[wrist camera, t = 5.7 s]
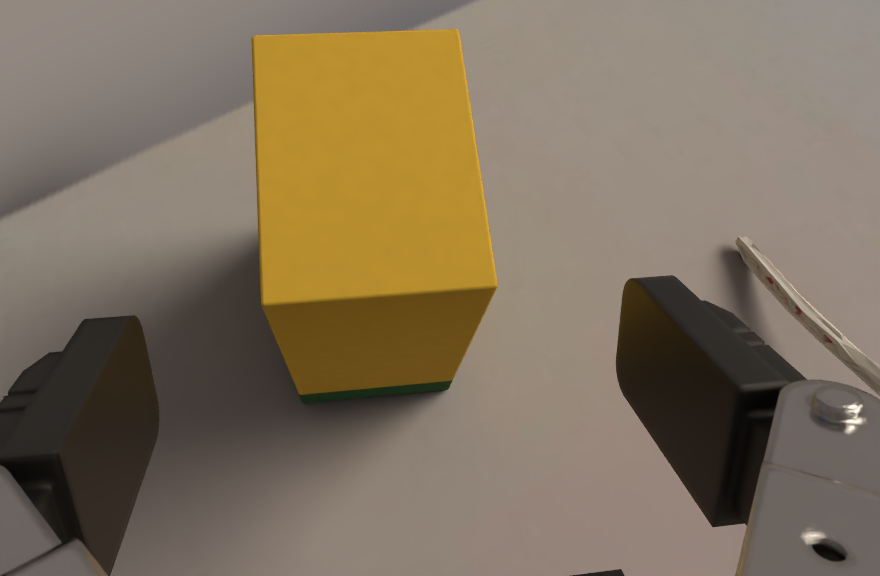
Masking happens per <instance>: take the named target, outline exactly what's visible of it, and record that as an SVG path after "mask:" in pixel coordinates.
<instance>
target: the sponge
mask: <svg viewBox="0 0 880 576" xmlns="http://www.w3.org/2000/svg"><path fill="white" fill-rule="evenodd" d="M252 63H253V91H254V121H255V150H256V178H257V207H258V236H259V265H260V294H261V305H262V308H263V310H264V312H265V315H266V317H267V319H268V322H269V324H270V327H271V329H272V331H273V334H274V336H275V338H276V341H277V343H278V346H279V348H280V350H281V353H282V355H283V357H284V360H285V362H286V365H287V367H288V369H289V372H290V374H291V376H292V379H293V381H294V384H295V386H296V388H297V391H298V393H299V396H300V398H301V400H302V403H313V402H323V401H334V400H344V399H355V398H365V397H376V396H386V395H397V394H407V393H418V392H428V391H439V390H447V389H449V387H450V384H451V382H452V380H453V378H454V376H455V374H456V372H457V370H458V368H459V366H460V363H461V361H462V359H463V357H464V355H465V353H466V351H467V349H468V347H469V345H470V343H471V341H472V339H473V336H474V334H475V332H476V330H477V328H478V326H479V324H480V322H481V320H482V318H483V316H484V314H485V312H486V309H487V307H488V305H489V303H490V301H491V299H492V297H493V295H494V293H495V291H496V289H497V286H498V284H497V278H496V271H495V264H494V258H493V251H492V245H491V238H490V231H489V225H488V218H487V212H486V205H485V199H484V192H483V185H482V179H481V172H480V166H479V159H478V152H477V146H476V139H475V133H474V126H473V119H472V113H471V106H470V100H469V93H468V86H467V80H466V73H465V67H464V60H463V54H462V47H461V40H460V34H459V31H458V30H457V29H448V30H416V31H388V32H387V31H385V32H353V33H321V34H289V35H258V36H253V37H252Z"/></svg>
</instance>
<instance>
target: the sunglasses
mask: <svg viewBox="0 0 880 576" xmlns="http://www.w3.org/2000/svg"><path fill="white" fill-rule="evenodd" d="M736 245H737V247H738V249H739V252H740V254H741V257H742V259H743V261H744V263H745V264H746V265H747V266H748V267H749V268H750V269H751V271H752V272H753V273H754V274H755V275H756V276H757V277H758V278H759V279H760V281H761V282H762V283H763V284H764V285H765V286H766V287H767V288H768V290H769V291H770V292H771V293H772V294H773V295H774V296H775V297H776V299H777V300H778V301H779V302H780V303H781V304H782V305H783V306H784V308H785V309H786V310H787V311H788V312H789V313H790V314H791V315H792V316H793V317H794V318H795V319H796V320H798V321H799V322H800V323H801V324H802V325H803V326H804V327H805V328H806V329H807V330H808V331H809V332H810V333H811V334H812V335H813V336H814V337H815V338H816V339H817V340H819V341H820V342H821V343H822V344H823V345H824V346H825V347H826V348H827V349H828V350H829V351H830V352H832V353H833V354H834V355H835V356H836V357H837V358H838V359H839V360H840V361H842V362H843V363H844V364H845V365H846V366H847V367H848V368H849V369H851V370H852V371H853V372H854V373H855V374H856V375H857V376H858V377H859V378H861V379H862V380H863V381H864V382H865V383H866V384H867V385H868V386H869V387H871V388H872V389H873V390H874V391H875V392H876V393H877V394H878V395H880V365H878V364H877V363H875V362H874V361H873V360H871V359H870V358H868V357H867V356H866V355H865V354H864V353H862V352H861V351H860V350H859V349H858V348H857V347H856V346H855V345H853V344H852V343H851V342H850V341H849V340H848V339H847V338H846V337H845V336H843V335H842V334H841V333H840V332H839V331H838V330H837V329H836V328H835V327H834V326H833V325H832V324H831V323H830V322H829V321H827V320H826V319H825V318H824V317H823V316H822V315H821V314H820V313H819V312H818V311H817V310H816V309H815V308H814V307H813V306H811V305H810V304H809V303H808V302H807V301H806V300H805V299H804V298H803V297H802V296H801V295H800V294H799V293H798V292H797V291H796V289H795V288H794V287H793V286H792V285H791V284H790V283H789V282H788V281H787V280H786V279H785V277H784V276H783V275H782V274H781V273H780V272H779V271H778V270H777V269H776V268H775V266H774V265H773V264H772V263H771V262H770V261H769V260H768V259H767V258H766V257H765V256H764V254H763V253H762V252H761V251H760V250H759V249H758V248H757V247H756V246H755V245H754V243H753V242H752V241H751V240H750V239H749V238H748V237H738V238H737V240H736Z"/></svg>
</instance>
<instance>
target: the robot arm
mask: <svg viewBox="0 0 880 576" xmlns="http://www.w3.org/2000/svg"><path fill="white" fill-rule="evenodd" d="M616 372H617V378H618V382H619V386H620V389H621V391H622V393H623V395H624V397H625V398H626V400H627V401H628V403H629V404H630V406H631V407H632V408H633V410H634V411H635V413H636V414H637V416H638V417H639V419H640V420H641V422H642V423H643V425H644V426H645V428H646V429H647V431H648V432H649V434H650V435H651V437H652V438H653V440H654V441H655V443H656V444H657V446H658V447H659V448H660V450H661V451H662V453H663V454H664V456H665V457H666V459H667V460H668V462H669V463H670V465H671V466H672V468H673V469H674V471H675V472H676V474H677V475H678V477H679V478H680V480H681V481H682V483H683V484H684V485H685V487H686V488H687V490H688V491H689V493H690V494H691V496H692V497H693V499H694V500H695V502H696V503H697V505H698V506H699V508H700V509H701V511H702V512H703V514H704V515H705V517H706V518H707V520H708V521H709V523H710V524H711V525H712V527H718V526H727V525H735V524H743V523H745V524H746V525H747V529H746V533H745V537H744V542H743V546H742V550H741V554H740V559H739V563H738V567H737V571H736V575H735V576H880V400H879V399H878V398H876V397H874V396H873V395H871V394H869V393H867V392H865V391H862V390H860V389H858V388H855V387H852V386H849V385H845V384H841V383H837V382H832V381H825V380H807V379H806V378H805V377H804V376H803V375H801V374H800V373H799V372H798V371H797V370H796V369H795V368H794V367H792V366H791V365H790V364H789V363H788V362H787V361H786V360H784V359H783V358H782V357H781V356H780V355H779V354H778V353H777V352H775V351H774V350H773V349H772V348H771V347H770V346H769V345H765V344H764V341H763V340H762V339H761V338H760V337H759V336H757V335H756V334H755V333H754V332H750V328H748V327H747V326H746V325H745V324H744V323H743V322H742V321H740V320H739V319H738V318H737V317H736V316H735V315H734V314H733V313H731V312H729V311H727V310H725V309H722V308H720V307H718V306H716V305H714V304H712V303H710V302H708V301H701V300H700V299H699V298H698V297H697V296H696V295H695V294H694V293H692V292H691V291H690V290H689V289H688V288H687V287H686V286H685V285H684V284H683V283H682V282H681V281H680V280H678V279H677V278H676V277H675V276H672V275H671V276H658V277H644V278H631V279H629V280H628V281H627V282H626V284H625V286H624V290H623V295H622V305H621V315H620V325H619V335H618V345H617V355H616ZM158 430H159V406H158V399H157V394H156V389H155V385H154V380H153V375H152V371H151V366H150V361H149V357H148V352H147V347H146V343H145V338H144V333H143V329H142V326H141V323H140V321H139V319H138V318H137V317H136V316H135V315H133V316H120V317H106V318H93V319H85V320H83V321H82V322H81V324H80V325H79V327H78V328H77V330H76V332H75V333H74V335H73V336H72V338H71V339H70V341H69V342H68V344H67V345H66V347H65V348H64V350H63V351H62V352H51V353H48V354H47V355H45V356H44V357H43V358H41V359H40V360H38V361H37V362H35V363H34V364H33V365H31V366H30V367H28V368H27V369H25V370H24V371H23V372H22V373H21V374H20V376H19V377H18V379H17V380H16V381H15V383H14V384H13V386H12V387H11V388H10V390H9V391H8V396H5V397H4V398H3V400H2V401H1V402H0V576H110V574H111V572H112V569H113V566H114V563H115V560H116V557H117V554H118V551H119V548H120V545H121V542H122V539H123V536H124V533H125V531H126V528H127V525H128V522H129V519H130V516H131V513H132V510H133V507H134V504H135V501H136V498H137V495H138V492H139V490H140V487H141V484H142V481H143V478H144V475H145V472H146V469H147V466H148V463H149V460H150V457H151V454H152V451H153V449H154V446H155V443H156V440H157V436H158ZM572 576H624V574H623V572H622V570H621V569H619V570H611V571H604V572H596V573H588V574H580V575H572Z"/></svg>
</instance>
